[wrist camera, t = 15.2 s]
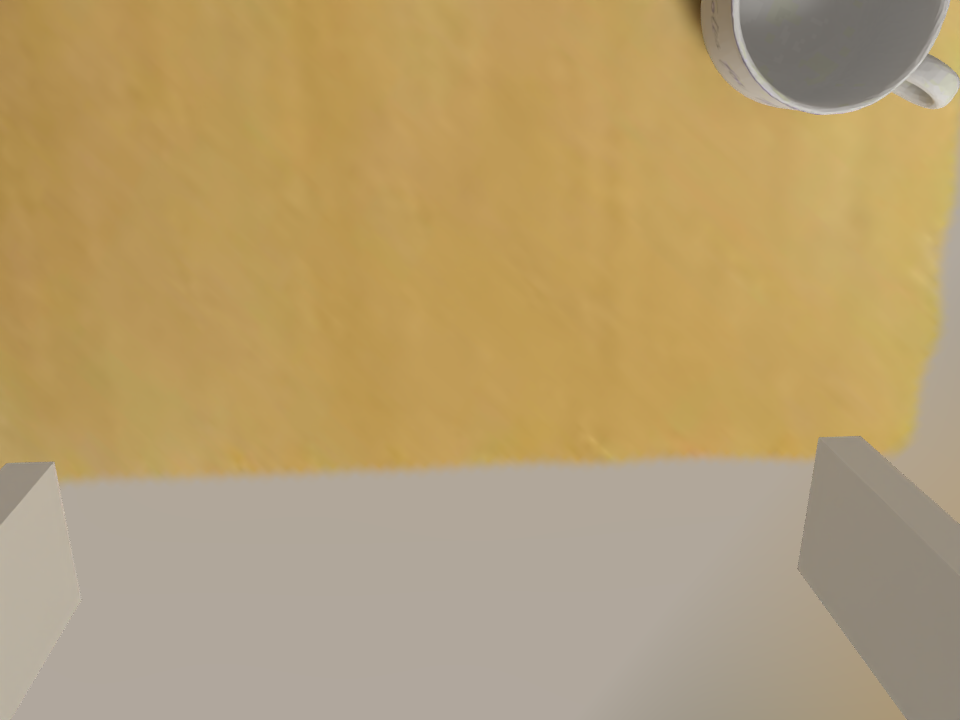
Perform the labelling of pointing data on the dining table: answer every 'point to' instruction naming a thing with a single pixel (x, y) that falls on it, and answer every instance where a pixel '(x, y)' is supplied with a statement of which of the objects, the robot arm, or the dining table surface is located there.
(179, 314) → the dining table surface
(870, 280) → the dining table surface
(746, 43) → the teacup
